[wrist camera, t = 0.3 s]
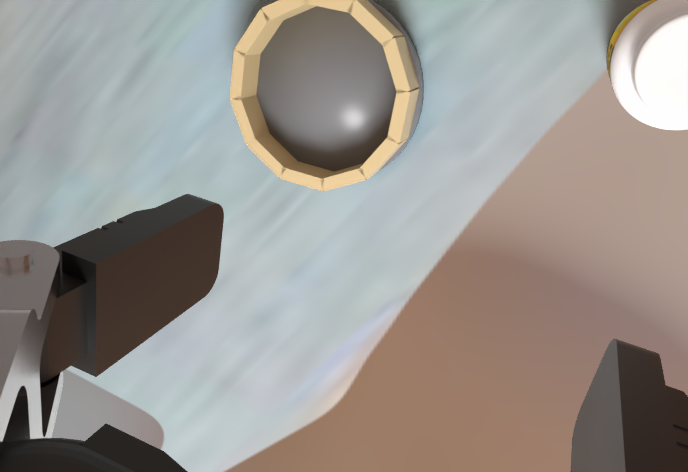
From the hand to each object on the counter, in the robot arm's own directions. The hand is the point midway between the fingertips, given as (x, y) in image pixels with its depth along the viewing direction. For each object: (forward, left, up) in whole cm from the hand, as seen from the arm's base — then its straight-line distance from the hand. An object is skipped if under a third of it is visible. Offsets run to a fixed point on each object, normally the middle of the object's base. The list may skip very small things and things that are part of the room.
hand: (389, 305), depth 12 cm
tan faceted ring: (+1, -12, -26) cm, 29 cm away
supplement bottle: (-5, +6, -26) cm, 28 cm away
